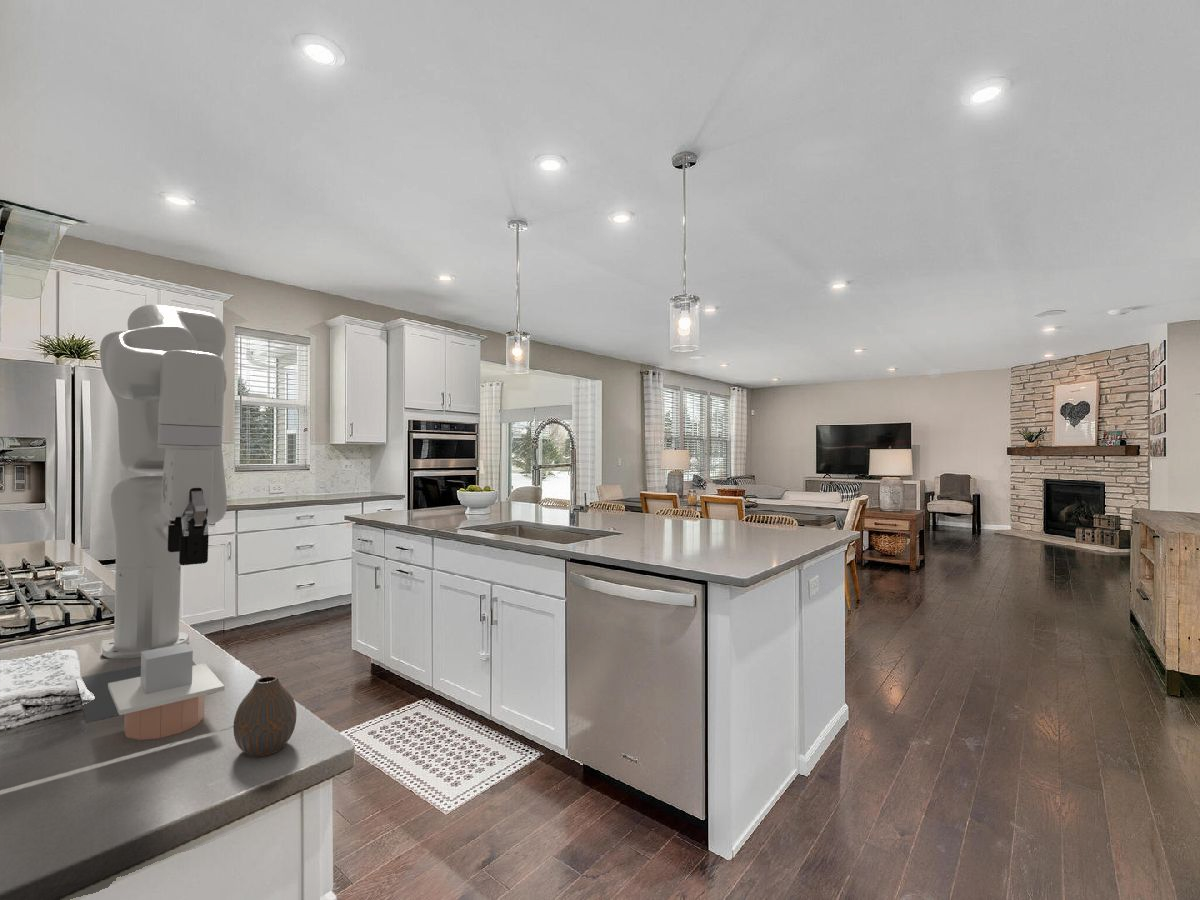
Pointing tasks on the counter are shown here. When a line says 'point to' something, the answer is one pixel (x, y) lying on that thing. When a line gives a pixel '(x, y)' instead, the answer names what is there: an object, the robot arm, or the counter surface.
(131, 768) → the counter surface
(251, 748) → the vase
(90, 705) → the mat
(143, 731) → the bowl
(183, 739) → the counter surface
